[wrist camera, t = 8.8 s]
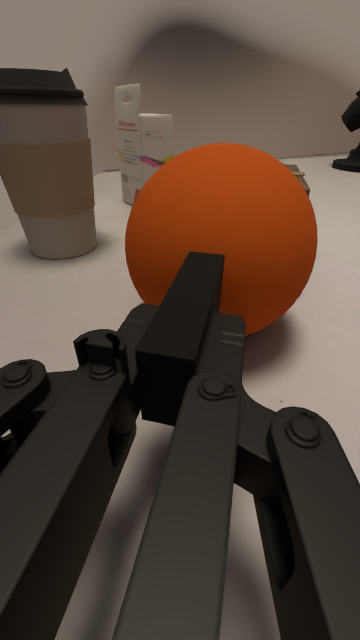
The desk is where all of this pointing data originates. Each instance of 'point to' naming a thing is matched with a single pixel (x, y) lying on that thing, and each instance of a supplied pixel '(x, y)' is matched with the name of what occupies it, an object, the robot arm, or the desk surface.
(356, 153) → the microphone
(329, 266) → the desk surface
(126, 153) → the ink cartridge box
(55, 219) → the coffee cup
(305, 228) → the ball
